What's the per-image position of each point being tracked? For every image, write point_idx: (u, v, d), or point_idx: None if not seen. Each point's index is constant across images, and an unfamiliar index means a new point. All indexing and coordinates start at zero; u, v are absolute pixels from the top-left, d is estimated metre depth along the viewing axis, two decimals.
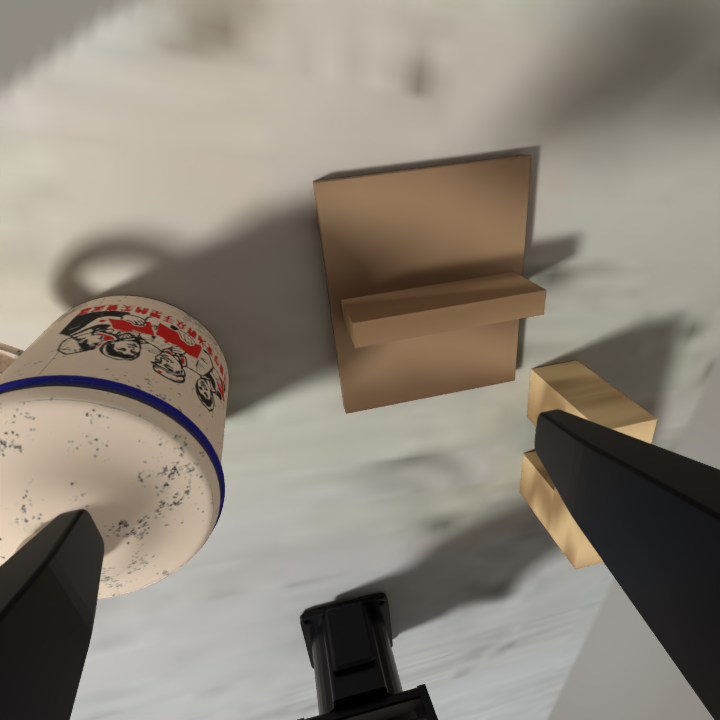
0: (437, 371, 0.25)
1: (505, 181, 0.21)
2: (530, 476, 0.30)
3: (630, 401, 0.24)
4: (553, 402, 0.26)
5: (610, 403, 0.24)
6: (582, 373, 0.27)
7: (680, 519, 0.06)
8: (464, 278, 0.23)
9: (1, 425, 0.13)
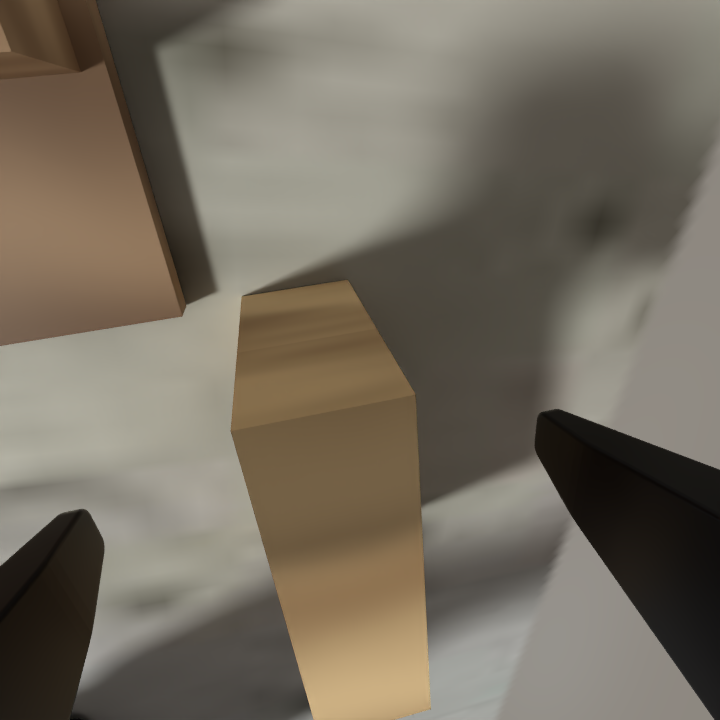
0: None
1: None
2: None
3: (383, 352, 0.09)
4: None
5: (331, 357, 0.09)
6: (335, 299, 0.12)
7: (680, 519, 0.06)
8: None
9: None
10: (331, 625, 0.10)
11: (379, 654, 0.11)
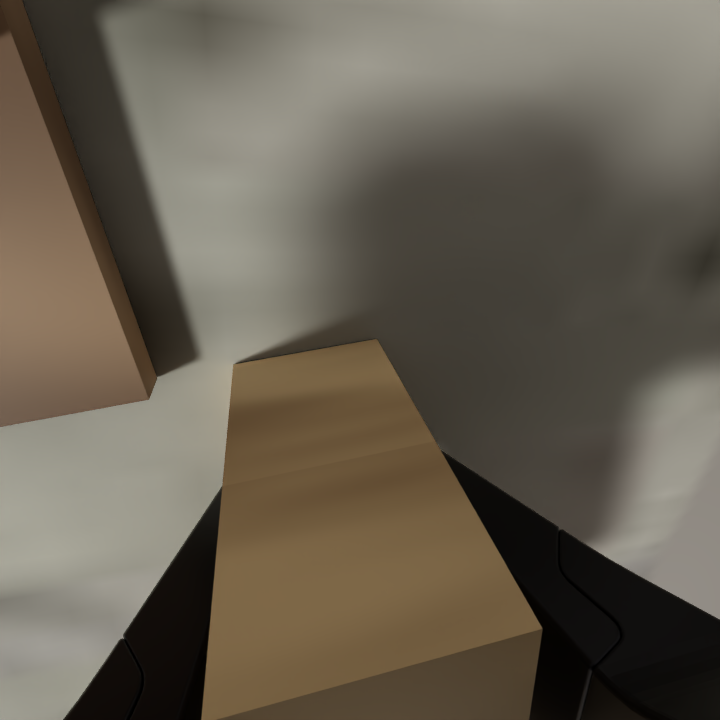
0: None
1: None
2: None
3: (457, 499, 0.06)
4: None
5: (372, 507, 0.06)
6: (363, 377, 0.08)
7: None
8: None
9: None
10: None
11: None
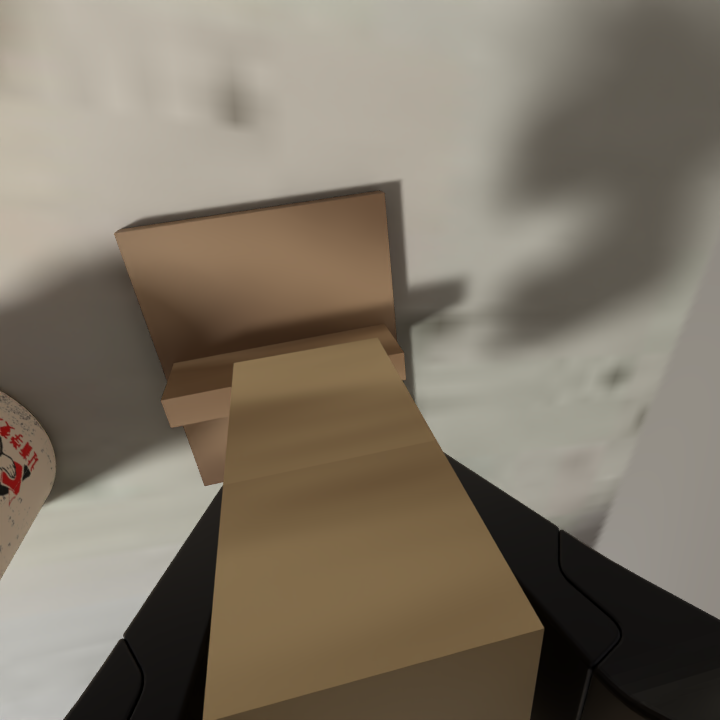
0: None
1: (356, 223, 0.18)
2: None
3: (458, 498, 0.06)
4: None
5: (373, 506, 0.06)
6: (364, 375, 0.08)
7: None
8: (324, 333, 0.20)
9: None
10: None
11: None
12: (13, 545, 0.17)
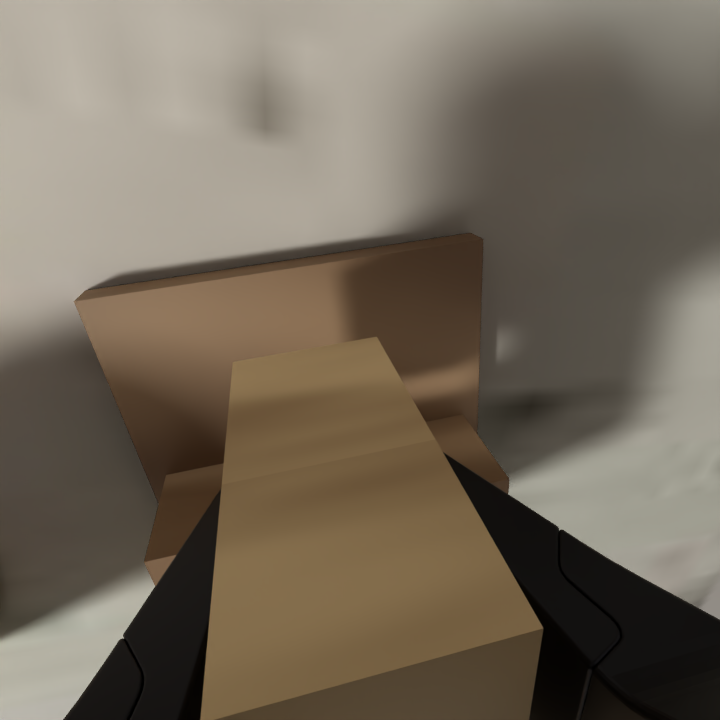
0: None
1: (439, 282, 0.12)
2: None
3: (457, 498, 0.06)
4: None
5: (372, 506, 0.06)
6: (363, 374, 0.08)
7: None
8: None
9: None
10: None
11: None
12: None
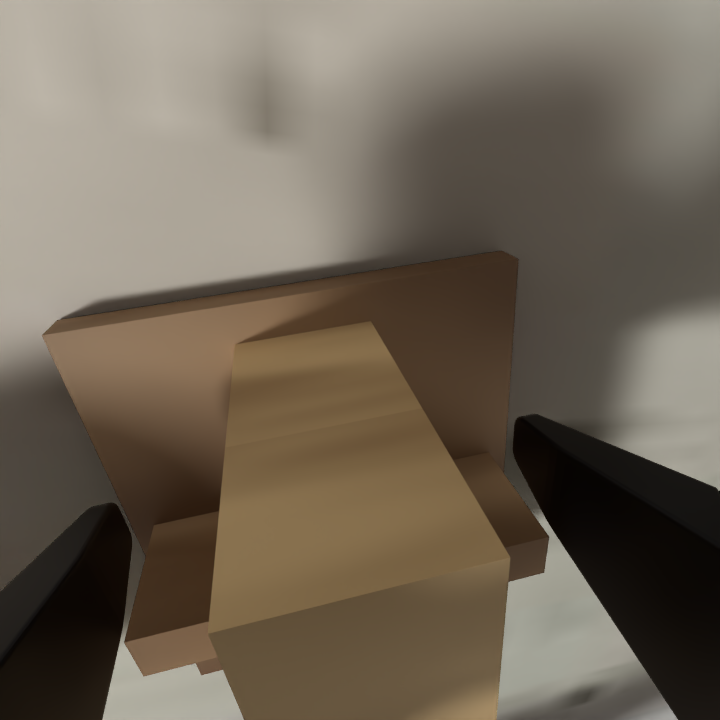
0: None
1: (466, 308, 0.11)
2: None
3: (440, 456, 0.06)
4: None
5: (362, 463, 0.06)
6: (357, 354, 0.09)
7: (648, 527, 0.06)
8: None
9: None
10: None
11: None
12: None
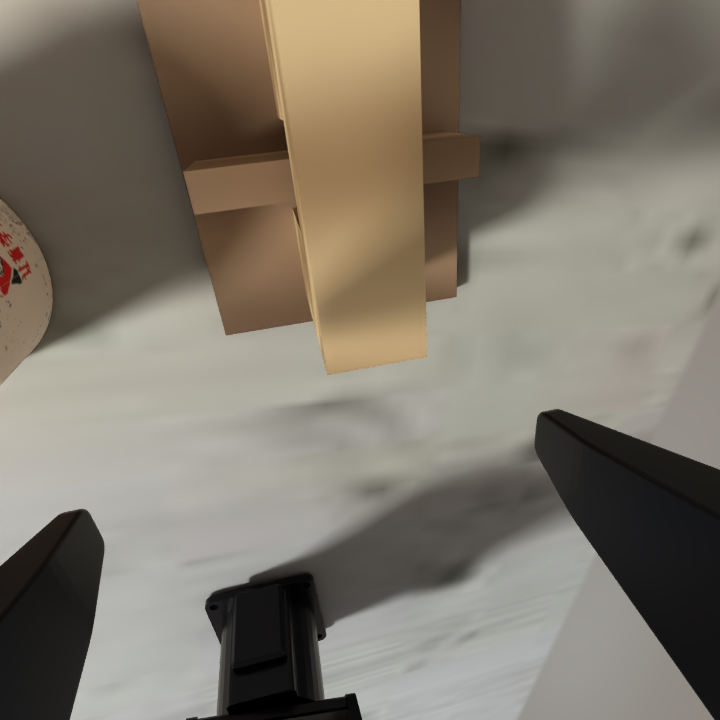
0: None
1: None
2: (299, 244, 0.17)
3: None
4: (263, 5, 0.12)
5: None
6: None
7: (680, 519, 0.06)
8: None
9: None
10: (339, 208, 0.11)
11: (382, 262, 0.12)
12: (1, 355, 0.14)
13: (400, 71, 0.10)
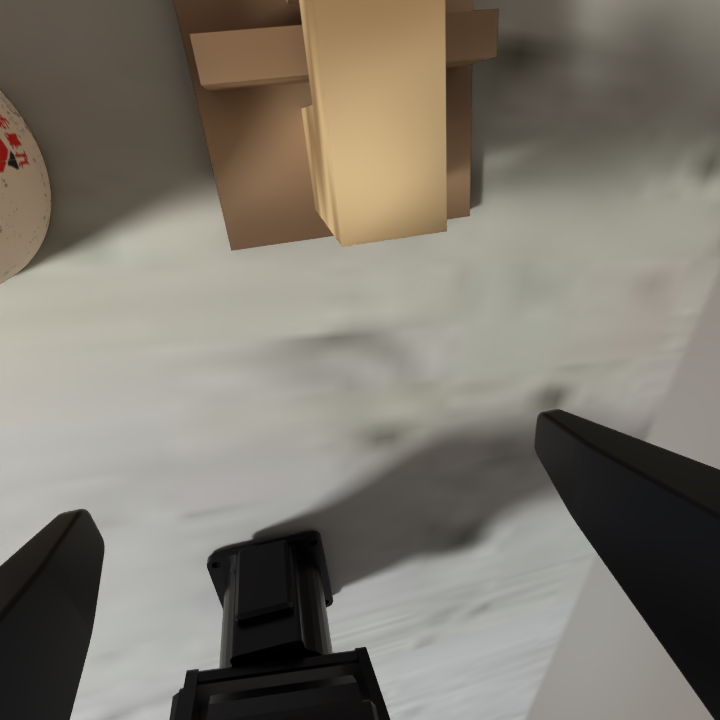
0: None
1: None
2: (308, 142, 0.16)
3: None
4: None
5: None
6: None
7: (680, 519, 0.06)
8: None
9: None
10: (357, 40, 0.10)
11: (401, 111, 0.11)
12: None
13: None
